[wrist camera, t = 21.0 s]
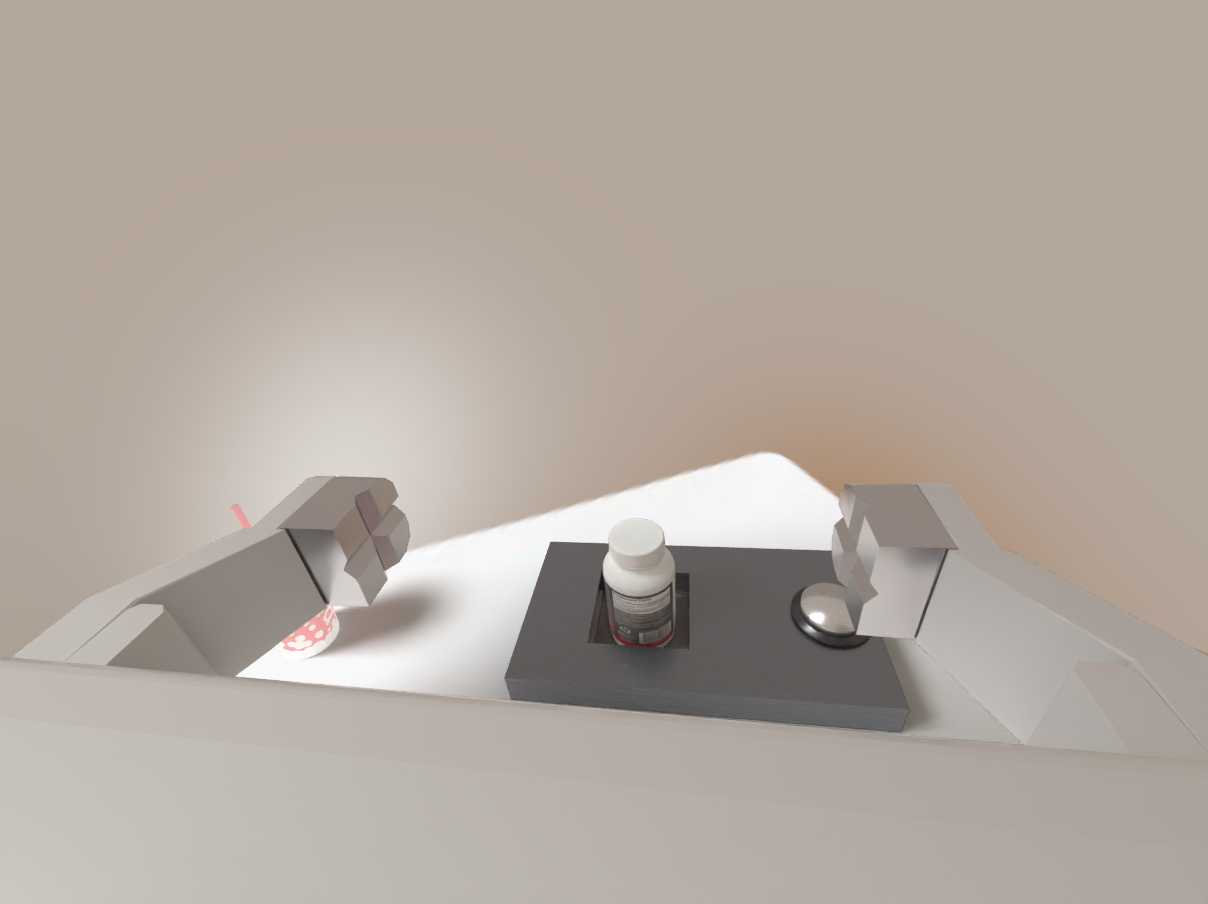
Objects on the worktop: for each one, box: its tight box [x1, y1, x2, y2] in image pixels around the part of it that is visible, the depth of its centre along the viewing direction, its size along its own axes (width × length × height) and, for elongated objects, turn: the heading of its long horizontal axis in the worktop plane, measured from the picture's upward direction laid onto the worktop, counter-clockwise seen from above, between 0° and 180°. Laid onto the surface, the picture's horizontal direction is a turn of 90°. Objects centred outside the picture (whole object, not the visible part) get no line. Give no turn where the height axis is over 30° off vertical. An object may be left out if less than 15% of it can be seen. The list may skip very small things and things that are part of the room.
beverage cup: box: [231, 504, 340, 660], centre depth 39 cm, size 6×6×14 cm
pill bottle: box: [603, 518, 676, 648], centre depth 39 cm, size 5×5×10 cm
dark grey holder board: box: [505, 542, 910, 732], centre depth 39 cm, size 26×14×4 cm, turn 82°
